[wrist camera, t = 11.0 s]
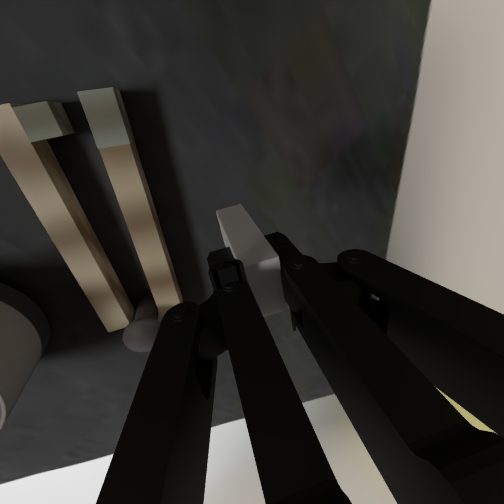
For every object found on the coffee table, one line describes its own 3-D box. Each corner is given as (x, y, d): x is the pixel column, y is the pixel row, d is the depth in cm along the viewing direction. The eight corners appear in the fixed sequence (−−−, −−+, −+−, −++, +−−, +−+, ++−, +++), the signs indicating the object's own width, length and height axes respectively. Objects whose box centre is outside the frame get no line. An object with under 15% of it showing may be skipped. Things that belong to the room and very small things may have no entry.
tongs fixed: (170, 312, 34) (169, 344, 30) (120, 327, 34) (111, 363, 29) (75, 95, 23) (48, 89, 18) (-4, 110, 22) (-53, 109, 17)
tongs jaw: (182, 297, 34) (183, 313, 31) (162, 302, 33) (161, 319, 31) (119, 90, 23) (112, 87, 21) (88, 94, 23) (76, 91, 20)
